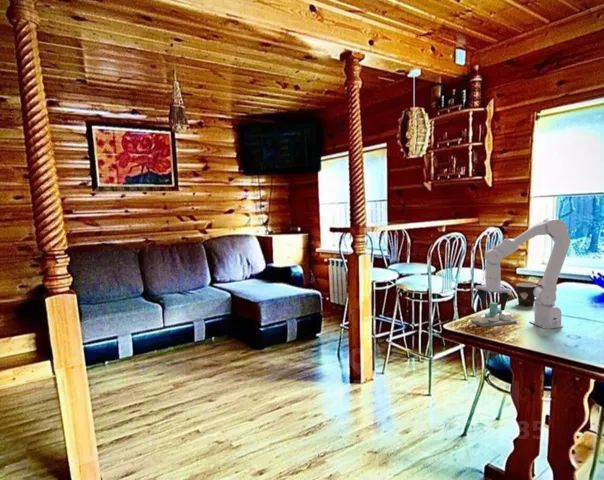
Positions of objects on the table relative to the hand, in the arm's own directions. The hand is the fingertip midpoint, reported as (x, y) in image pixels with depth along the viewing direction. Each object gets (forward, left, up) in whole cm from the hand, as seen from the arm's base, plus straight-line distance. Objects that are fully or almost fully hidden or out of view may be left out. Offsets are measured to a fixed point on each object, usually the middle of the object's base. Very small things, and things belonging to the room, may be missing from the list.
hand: (493, 308), depth 170 cm
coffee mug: (+17, -31, -6) cm, 36 cm away
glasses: (0, 0, -3) cm, 3 cm away
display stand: (0, 0, -6) cm, 6 cm away
